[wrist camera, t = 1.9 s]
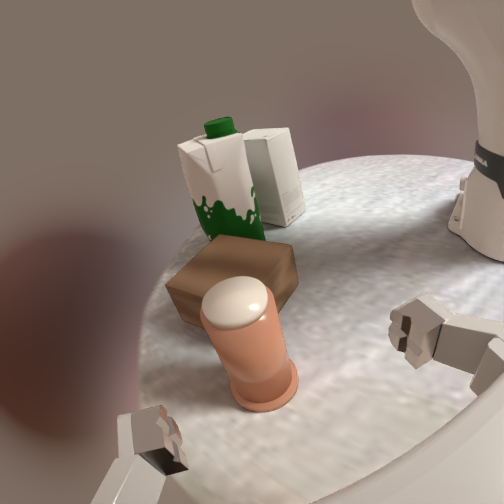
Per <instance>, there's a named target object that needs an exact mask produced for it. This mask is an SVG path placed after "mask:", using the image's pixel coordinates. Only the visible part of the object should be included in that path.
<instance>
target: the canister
mask: <svg viewBox="0 0 504 504" xmlns="http://www.w3.org/2000/svg"><path fill="white" fill-rule="evenodd" d="M200 318H201V321H202V323H203V325H204V328H205V330H206V332H207V334H208V336H209V338H210V340H211V342H212V344H213V346H214V348H215V350H216V352H217V354H218V356H219V358H220V360H221V362H222V364H223V366H224V368H225V370H226V372H227V373H228V375H229V377H230V389H231V392H232V394H233V396H234V398H235V399H236V401H237V402H238V403H239V404H240V405H241V406H242V407H243V408H245V409H247V410H250V411H253V412H270V411H274V410H276V409H279V408H281V407H283V406H284V405H286V404H287V403H288V402H289V401H290V400H291V399H292V398H293V396H294V395H295V393H296V391H297V388H298V381H299V380H298V374H297V370H296V367H295V365H294V363H293V362H292V361H291V360H290V359H289V358H288V354H287V350H286V346H285V341H284V337H283V333H282V329H281V325H280V320H279V316H278V312H277V308H276V304H275V300H274V296H273V293H272V292H271V290H270V289H269V288H268V287H267V286H265V285H264V284H263V283H262V282H261V281H259V280H258V279H255V278H252V277H247V276H239V277H232V278H229V279H226V280H223V281H221V282H219V283H217V284H216V285H214V286H213V287H212V288H211V289H210V290H209V291H208V292H207V293H206V294H205V296H204V298H203V301H202V307H201V310H200Z"/></svg>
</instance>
